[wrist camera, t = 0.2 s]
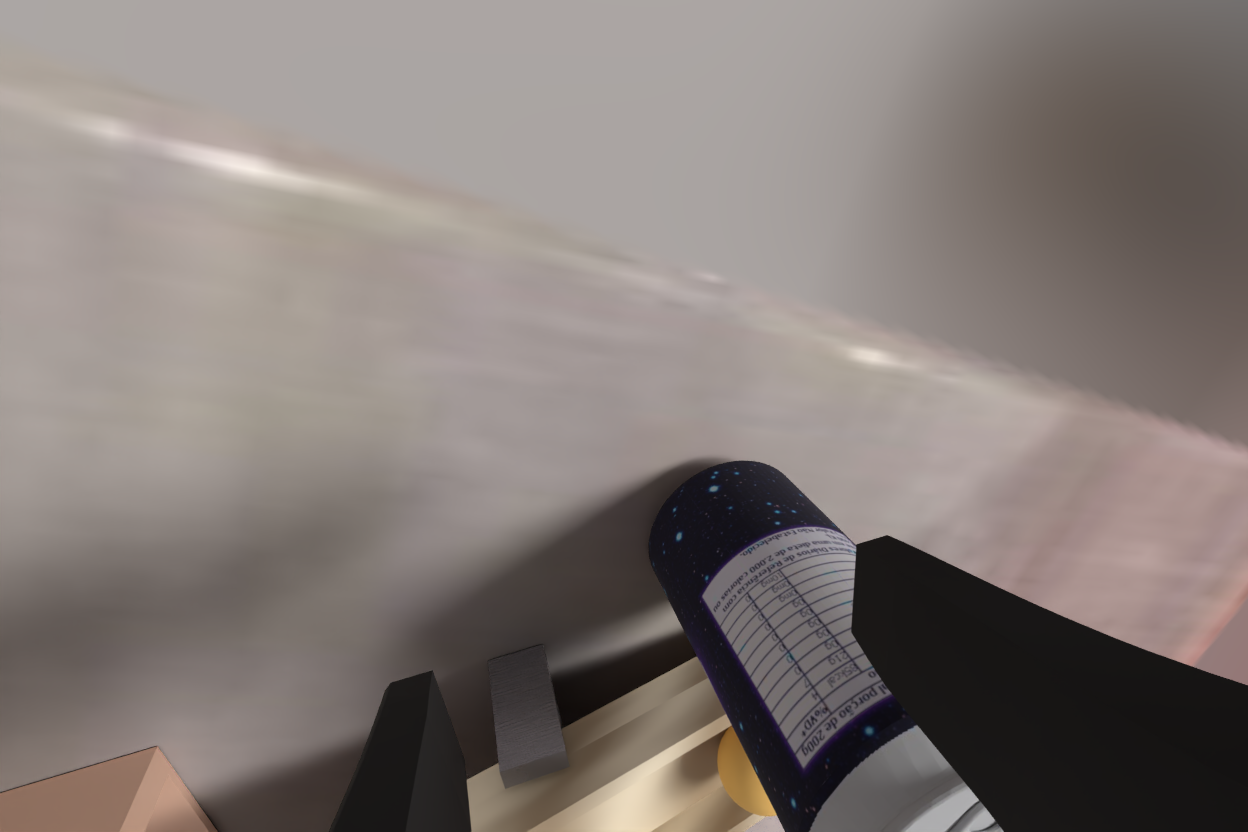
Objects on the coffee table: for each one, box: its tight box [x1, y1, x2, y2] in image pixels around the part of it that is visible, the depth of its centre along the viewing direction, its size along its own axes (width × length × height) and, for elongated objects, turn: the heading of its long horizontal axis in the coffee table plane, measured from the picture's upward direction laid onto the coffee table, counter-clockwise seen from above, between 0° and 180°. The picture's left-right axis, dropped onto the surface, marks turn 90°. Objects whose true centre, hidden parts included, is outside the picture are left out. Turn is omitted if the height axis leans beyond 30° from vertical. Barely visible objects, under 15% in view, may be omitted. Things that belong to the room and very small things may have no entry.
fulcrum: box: [488, 644, 570, 789], centre depth 23 cm, size 9×2×4 cm, turn 7°
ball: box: [717, 725, 777, 816], centre depth 22 cm, size 3×3×3 cm
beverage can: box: [649, 461, 1004, 832], centre depth 17 cm, size 6×6×12 cm
